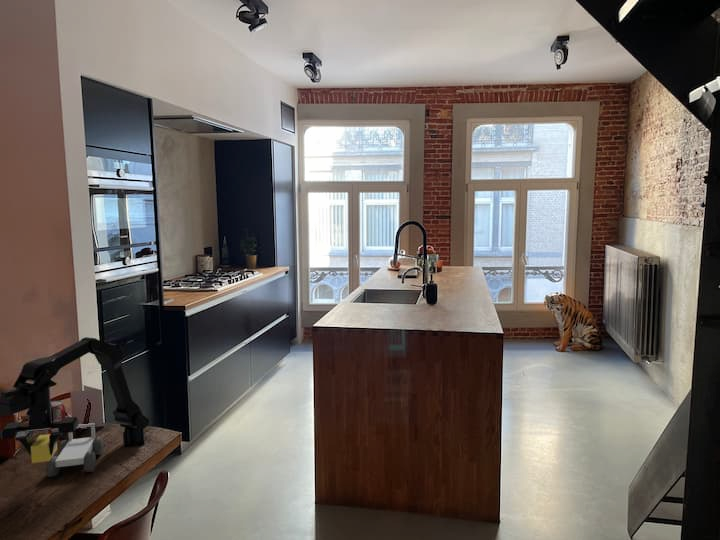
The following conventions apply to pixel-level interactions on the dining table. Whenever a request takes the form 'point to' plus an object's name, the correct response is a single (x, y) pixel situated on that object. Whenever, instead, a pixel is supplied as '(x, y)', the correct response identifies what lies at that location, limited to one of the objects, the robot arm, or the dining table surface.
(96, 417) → the greeting card
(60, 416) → the soda can
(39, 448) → the block
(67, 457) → the trolley
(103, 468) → the dining table surface
